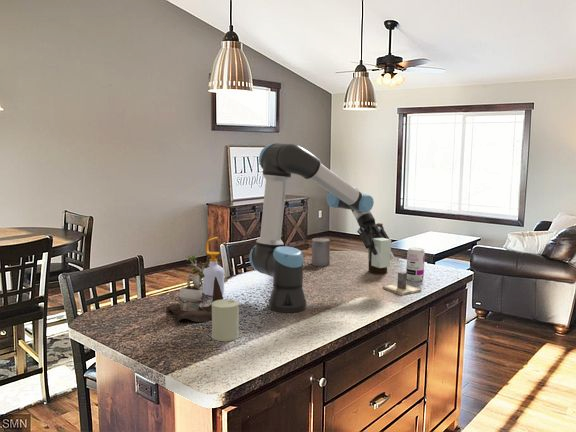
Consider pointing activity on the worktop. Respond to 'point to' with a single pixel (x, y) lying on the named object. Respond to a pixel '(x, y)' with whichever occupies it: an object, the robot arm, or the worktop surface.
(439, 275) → the worktop surface
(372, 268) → the olive oil
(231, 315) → the can
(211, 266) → the soap bottle
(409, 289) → the post base
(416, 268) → the supplement can
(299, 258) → the robot arm
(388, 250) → the tall mint green block
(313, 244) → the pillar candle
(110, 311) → the worktop surface
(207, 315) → the potted plant
